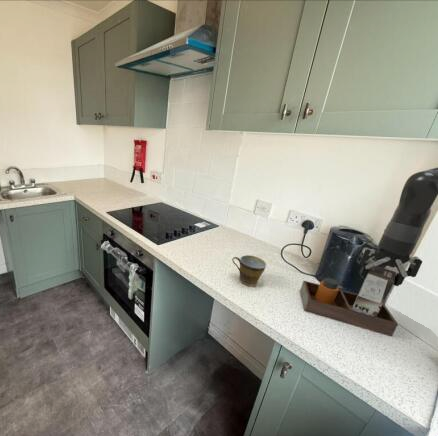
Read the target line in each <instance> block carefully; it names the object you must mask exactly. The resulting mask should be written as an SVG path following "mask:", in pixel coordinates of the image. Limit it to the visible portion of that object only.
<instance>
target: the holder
mask: <svg viewBox="0 0 438 436" xmlns="http://www.w3.org/2000/svg"><path fill="white" fill-rule="evenodd" d="M319 284H320V283H319ZM319 284H318V283H316V282H311V281H307V280H303V281H302V284H301V287H300V290H299V293H300V297H301V302H302V307H303V311H304V312H306V313H309V314H313V315H316V316H319V317H323V318H327V319H330V320H334V321H337V322H341V323H344V324H347V325H351V326H354V327H357V328H361V329H364V330H367V331H371V332H375V333H377V334H381V335H385V336H388V337H393V335H394V333H395V331H396V330H397V328H398V326H399V324H398V322H397V320H396V319H395V317H394V316H393V314H392V313H391V312H390V310H389V309H388V307H387V306H386V305H385V302H384V303H383V305H382V307H381V309H380V311H379V313H378V315H377V317H374V316H370V315H366V314H363V313H359V312H356V311H352V308H353V305H354V303H355V300H356V298H357V296H358V293H356V292H355V293H354V292H351V291H346V290H342V289H339V291H338V293H337V296H336V298H335V300H334V303H333V305H330V304H327V303H323V302H319V301H316V300H314V297H315V295H316V292H317V290H318V287H319Z"/></svg>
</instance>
